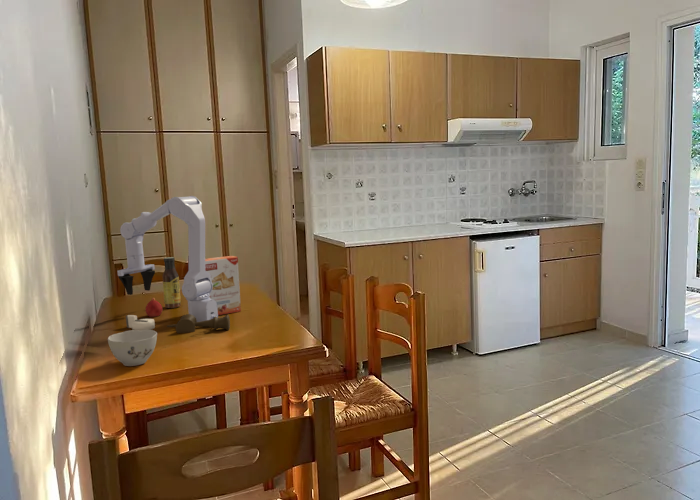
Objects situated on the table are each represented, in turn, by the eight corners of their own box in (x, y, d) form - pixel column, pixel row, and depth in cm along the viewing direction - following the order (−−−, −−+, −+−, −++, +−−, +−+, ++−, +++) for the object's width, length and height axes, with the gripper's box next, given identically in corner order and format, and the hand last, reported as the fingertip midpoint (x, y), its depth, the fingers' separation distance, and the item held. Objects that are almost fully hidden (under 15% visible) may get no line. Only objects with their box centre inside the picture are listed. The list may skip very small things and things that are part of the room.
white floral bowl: (162, 365, 148) (159, 336, 147) (112, 374, 142) (109, 344, 141) (154, 350, 161) (152, 324, 160) (108, 358, 155) (105, 331, 154)
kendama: (229, 334, 177) (164, 339, 173) (230, 327, 186) (169, 331, 182) (229, 316, 176) (163, 320, 173) (229, 310, 186) (168, 314, 182)
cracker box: (206, 318, 198) (201, 260, 195) (200, 315, 202) (195, 259, 200) (242, 311, 206) (238, 256, 203) (235, 308, 211) (231, 254, 208)
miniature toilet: (159, 326, 183) (158, 314, 183) (143, 332, 177) (142, 319, 177) (136, 324, 188) (135, 312, 187) (120, 329, 182) (118, 317, 181)
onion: (142, 320, 198) (140, 299, 197) (155, 316, 204) (153, 295, 203) (154, 322, 196) (152, 300, 195) (166, 318, 201) (164, 296, 200)
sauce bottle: (178, 308, 216) (173, 258, 213) (162, 309, 216) (157, 259, 213) (183, 304, 222) (179, 256, 220) (168, 305, 222) (163, 256, 220)
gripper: (144, 252, 206) (147, 287, 208) (110, 258, 194) (114, 295, 195) (157, 252, 203) (160, 288, 204) (123, 258, 190) (127, 297, 192)
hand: (138, 292), depth 200 cm, fingers open, 7 cm apart
